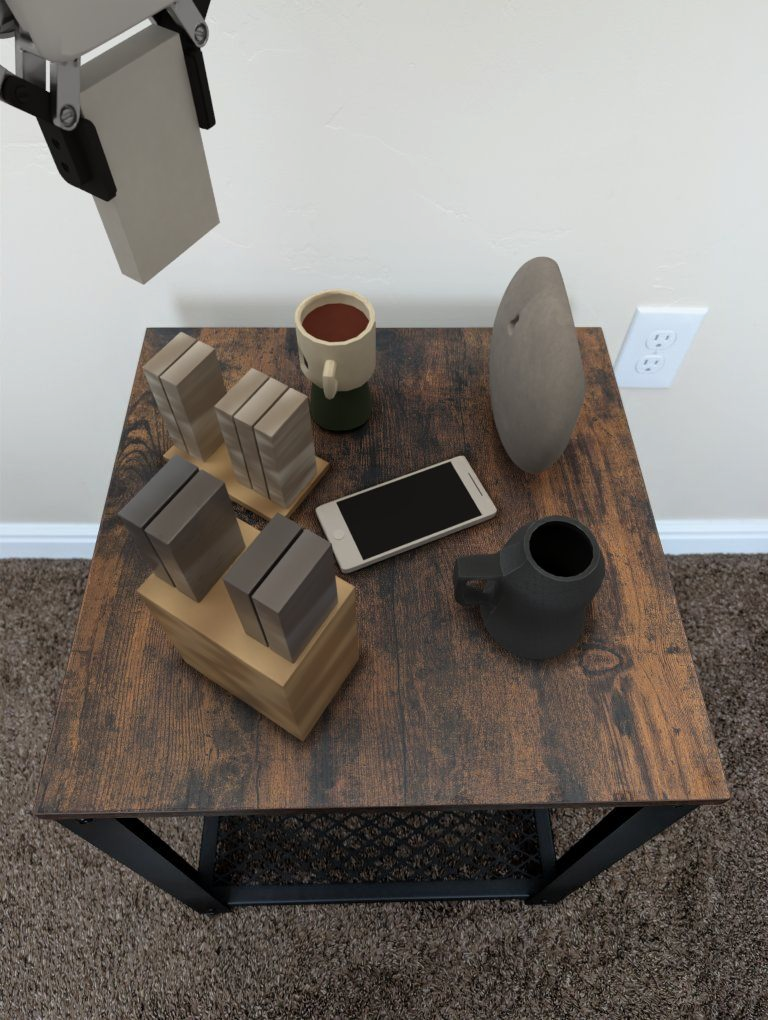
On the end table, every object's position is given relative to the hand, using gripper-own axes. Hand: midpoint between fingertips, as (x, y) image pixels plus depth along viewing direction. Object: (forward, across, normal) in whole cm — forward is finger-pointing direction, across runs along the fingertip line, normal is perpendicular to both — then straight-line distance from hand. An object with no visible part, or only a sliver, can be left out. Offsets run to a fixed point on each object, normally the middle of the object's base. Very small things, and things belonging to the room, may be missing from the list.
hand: (144, 151), depth 38 cm
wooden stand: (+34, +12, +13) cm, 38 cm away
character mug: (+34, -13, +2) cm, 36 cm away
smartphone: (+34, -6, +14) cm, 37 cm away
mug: (+34, -3, +28) cm, 44 cm away
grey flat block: (+6, 0, 0) cm, 6 cm away
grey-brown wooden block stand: (+34, -2, -2) cm, 34 cm away
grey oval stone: (+34, -20, +18) cm, 44 cm away
